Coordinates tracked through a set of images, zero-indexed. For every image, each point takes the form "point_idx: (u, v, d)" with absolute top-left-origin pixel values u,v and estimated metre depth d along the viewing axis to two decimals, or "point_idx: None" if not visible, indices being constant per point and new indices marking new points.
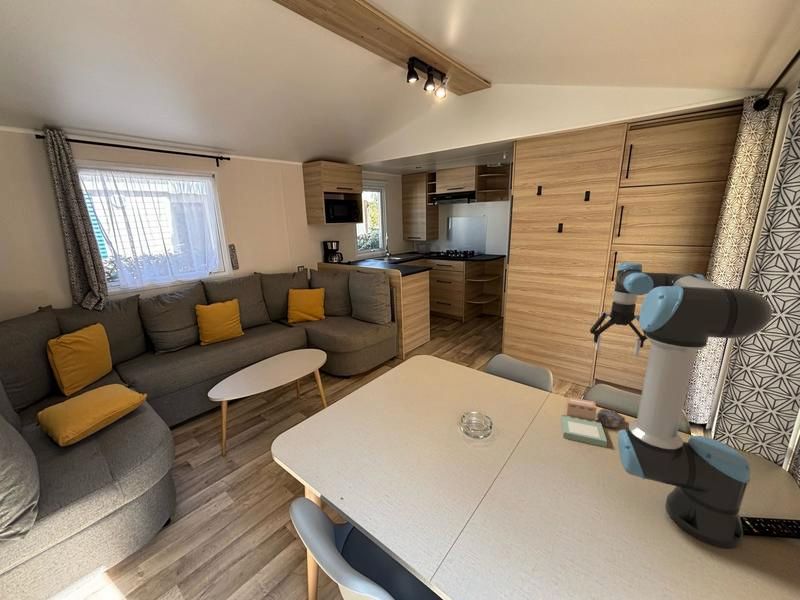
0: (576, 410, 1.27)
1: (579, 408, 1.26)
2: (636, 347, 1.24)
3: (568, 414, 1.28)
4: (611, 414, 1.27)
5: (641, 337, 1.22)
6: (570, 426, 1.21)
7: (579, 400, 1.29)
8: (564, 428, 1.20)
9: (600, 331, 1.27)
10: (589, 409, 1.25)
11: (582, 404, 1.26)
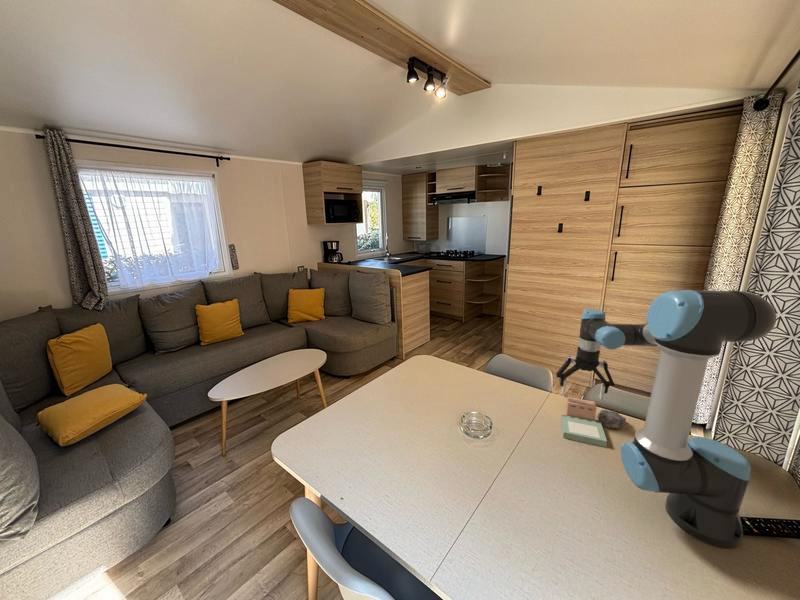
0: (576, 410, 1.27)
1: (579, 408, 1.26)
2: (601, 392, 1.24)
3: (568, 414, 1.28)
4: (612, 415, 1.26)
5: (605, 383, 1.22)
6: (570, 426, 1.21)
7: (579, 400, 1.29)
8: (564, 428, 1.20)
9: (566, 375, 1.27)
10: (589, 409, 1.25)
11: (582, 404, 1.26)
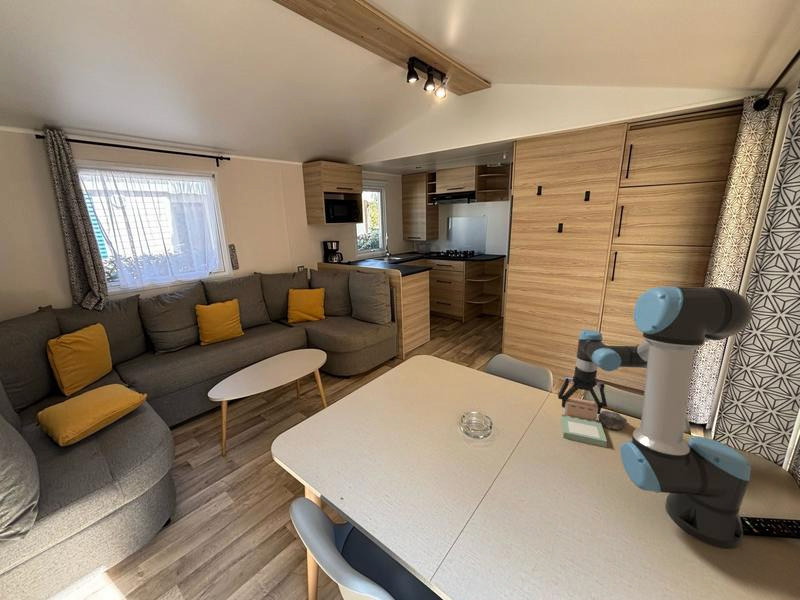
0: (576, 410, 1.27)
1: (579, 408, 1.26)
2: None
3: (568, 414, 1.28)
4: (613, 416, 1.26)
5: (598, 404, 1.24)
6: (570, 426, 1.21)
7: (579, 400, 1.29)
8: (564, 428, 1.20)
9: (567, 397, 1.28)
10: (589, 409, 1.25)
11: (582, 404, 1.26)
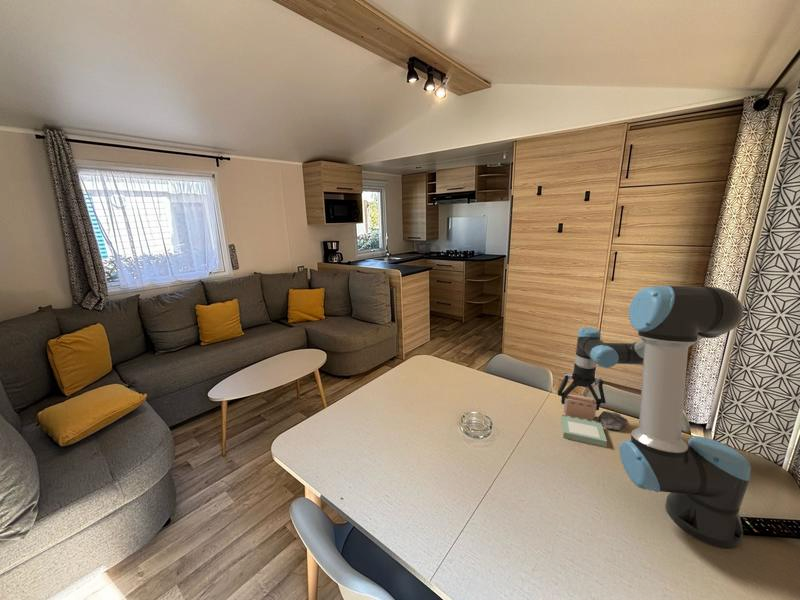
0: (575, 407, 1.29)
1: (578, 404, 1.29)
2: None
3: (567, 410, 1.31)
4: (614, 416, 1.25)
5: (597, 401, 1.27)
6: (570, 426, 1.21)
7: (578, 397, 1.31)
8: (564, 428, 1.20)
9: (566, 393, 1.31)
10: (588, 405, 1.27)
11: (581, 401, 1.29)
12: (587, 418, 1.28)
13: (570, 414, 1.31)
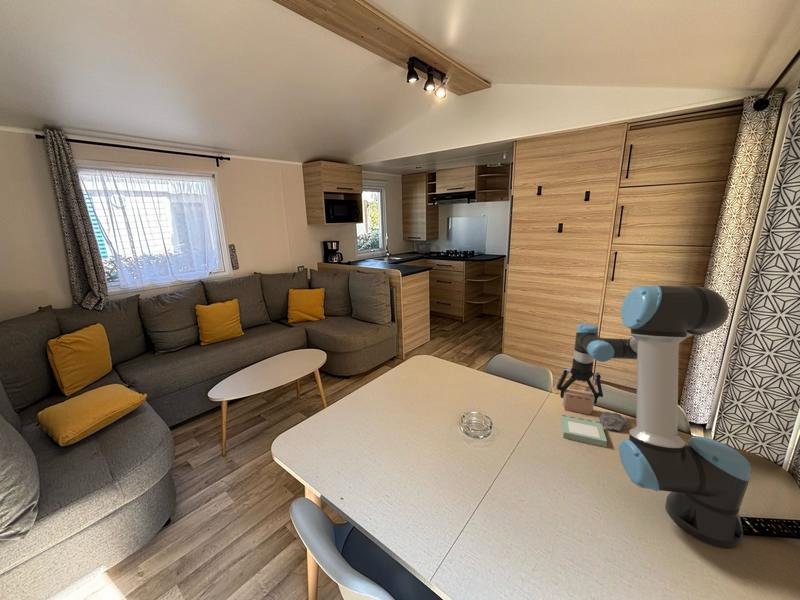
0: (573, 400, 1.34)
1: (577, 398, 1.33)
2: None
3: (566, 404, 1.35)
4: (614, 417, 1.25)
5: (595, 394, 1.31)
6: (570, 426, 1.21)
7: (577, 391, 1.36)
8: (564, 428, 1.20)
9: (565, 387, 1.35)
10: (586, 399, 1.32)
11: (580, 394, 1.33)
12: (585, 411, 1.33)
13: (569, 407, 1.35)
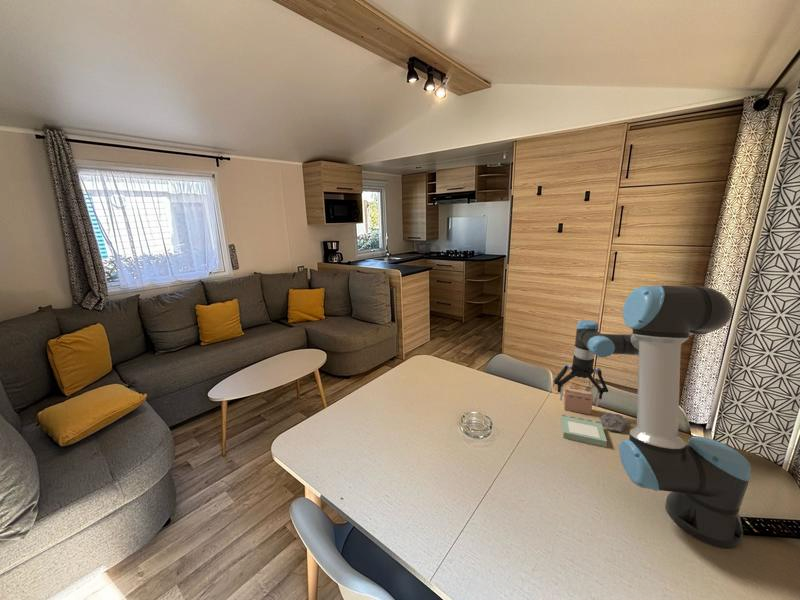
0: (573, 400, 1.34)
1: (577, 398, 1.33)
2: (596, 398, 1.32)
3: (566, 404, 1.36)
4: (615, 418, 1.24)
5: (600, 390, 1.30)
6: (570, 426, 1.21)
7: (577, 391, 1.36)
8: (564, 428, 1.20)
9: (563, 382, 1.35)
10: (586, 399, 1.32)
11: (580, 394, 1.33)
12: (585, 411, 1.33)
13: (569, 407, 1.35)
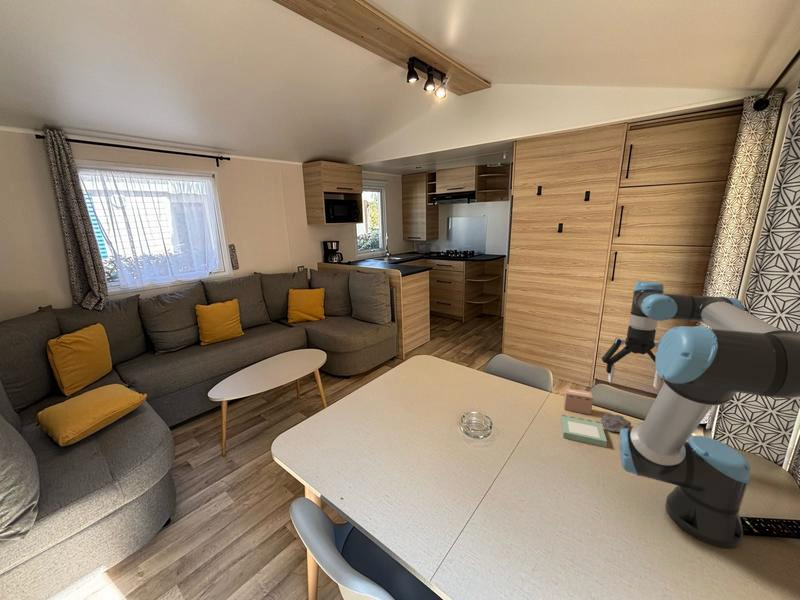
0: (573, 400, 1.34)
1: (577, 398, 1.33)
2: (656, 379, 1.07)
3: (566, 404, 1.36)
4: (616, 418, 1.24)
5: None
6: (570, 426, 1.21)
7: (577, 391, 1.36)
8: (564, 428, 1.20)
9: (614, 360, 1.10)
10: (586, 399, 1.32)
11: (580, 394, 1.33)
12: (585, 411, 1.33)
13: (569, 407, 1.35)
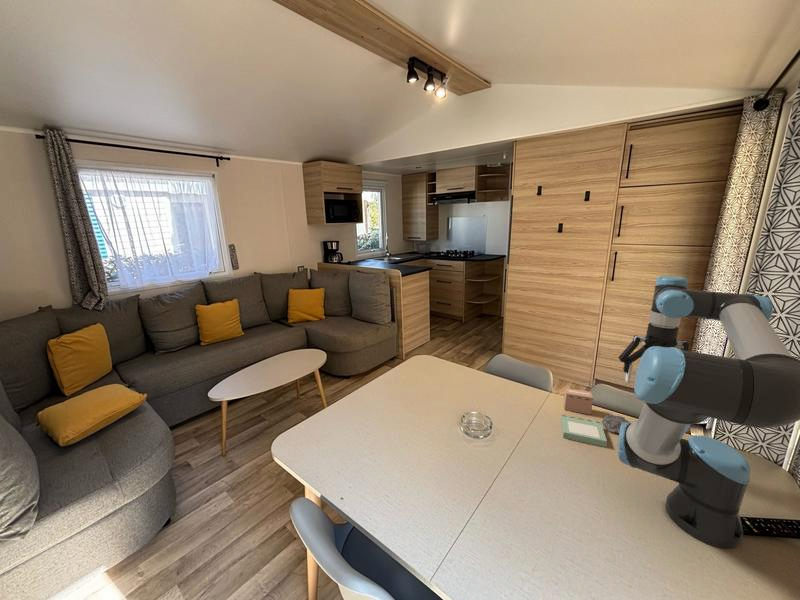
0: (573, 400, 1.34)
1: (577, 398, 1.33)
2: None
3: (566, 404, 1.36)
4: (617, 419, 1.23)
5: None
6: (570, 426, 1.21)
7: (577, 391, 1.36)
8: (564, 428, 1.20)
9: (632, 359, 1.04)
10: (586, 399, 1.32)
11: (580, 394, 1.33)
12: (585, 411, 1.33)
13: (569, 407, 1.35)
